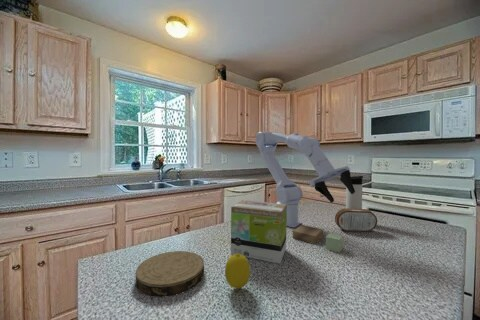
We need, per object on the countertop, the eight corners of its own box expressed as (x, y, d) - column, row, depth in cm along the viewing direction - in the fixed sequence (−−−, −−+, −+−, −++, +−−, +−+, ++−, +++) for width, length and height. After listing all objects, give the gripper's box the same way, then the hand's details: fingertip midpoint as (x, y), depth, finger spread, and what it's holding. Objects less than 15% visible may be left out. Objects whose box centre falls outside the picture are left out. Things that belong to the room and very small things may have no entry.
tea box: (229, 256, 65) (229, 206, 65) (241, 243, 75) (241, 199, 74) (281, 265, 60) (281, 210, 60) (286, 249, 70) (287, 202, 69)
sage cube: (325, 249, 70) (325, 236, 70) (329, 245, 73) (329, 233, 73) (339, 252, 68) (339, 239, 67) (342, 248, 71) (342, 236, 71)
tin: (374, 230, 87) (374, 208, 87) (378, 233, 84) (378, 210, 84) (334, 228, 89) (334, 207, 88) (337, 231, 86) (337, 209, 85)
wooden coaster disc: (183, 304, 45) (183, 290, 45) (119, 291, 49) (119, 278, 49) (214, 266, 60) (214, 255, 60) (162, 258, 65) (162, 248, 64)
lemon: (224, 282, 52) (224, 248, 52) (248, 281, 53) (248, 247, 52) (225, 297, 47) (225, 259, 46) (251, 296, 47) (251, 258, 47)
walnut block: (292, 239, 79) (292, 230, 79) (301, 232, 85) (301, 224, 85) (315, 245, 74) (315, 236, 74) (323, 237, 80) (323, 229, 80)
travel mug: (365, 223, 95) (366, 176, 94) (349, 223, 95) (350, 176, 94) (357, 219, 101) (358, 175, 100) (343, 219, 101) (343, 175, 100)
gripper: (304, 166, 77) (325, 201, 70) (342, 151, 78) (367, 184, 71) (302, 175, 83) (321, 208, 76) (337, 161, 84) (359, 192, 77)
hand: (343, 197), depth 74 cm, fingers open, 7 cm apart
